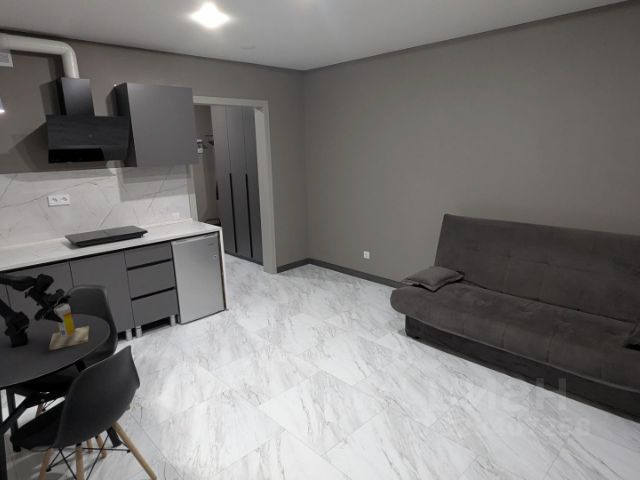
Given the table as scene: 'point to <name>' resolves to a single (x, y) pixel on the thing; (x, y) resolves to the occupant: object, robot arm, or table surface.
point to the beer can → (65, 320)
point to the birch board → (69, 338)
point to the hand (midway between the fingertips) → (67, 319)
